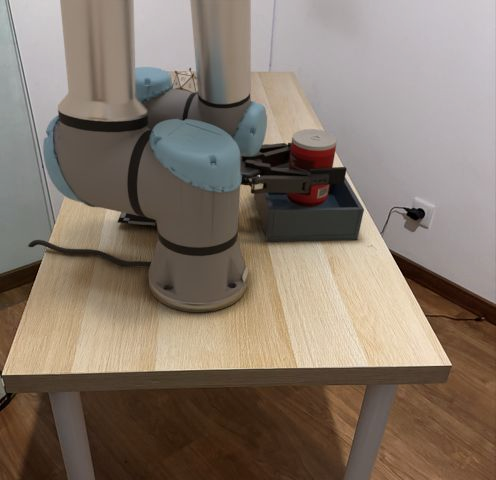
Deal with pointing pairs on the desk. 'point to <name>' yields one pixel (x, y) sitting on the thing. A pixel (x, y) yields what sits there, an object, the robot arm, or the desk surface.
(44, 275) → the desk surface
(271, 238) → the bin
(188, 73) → the game die
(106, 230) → the desk surface
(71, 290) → the desk surface
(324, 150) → the canned food
